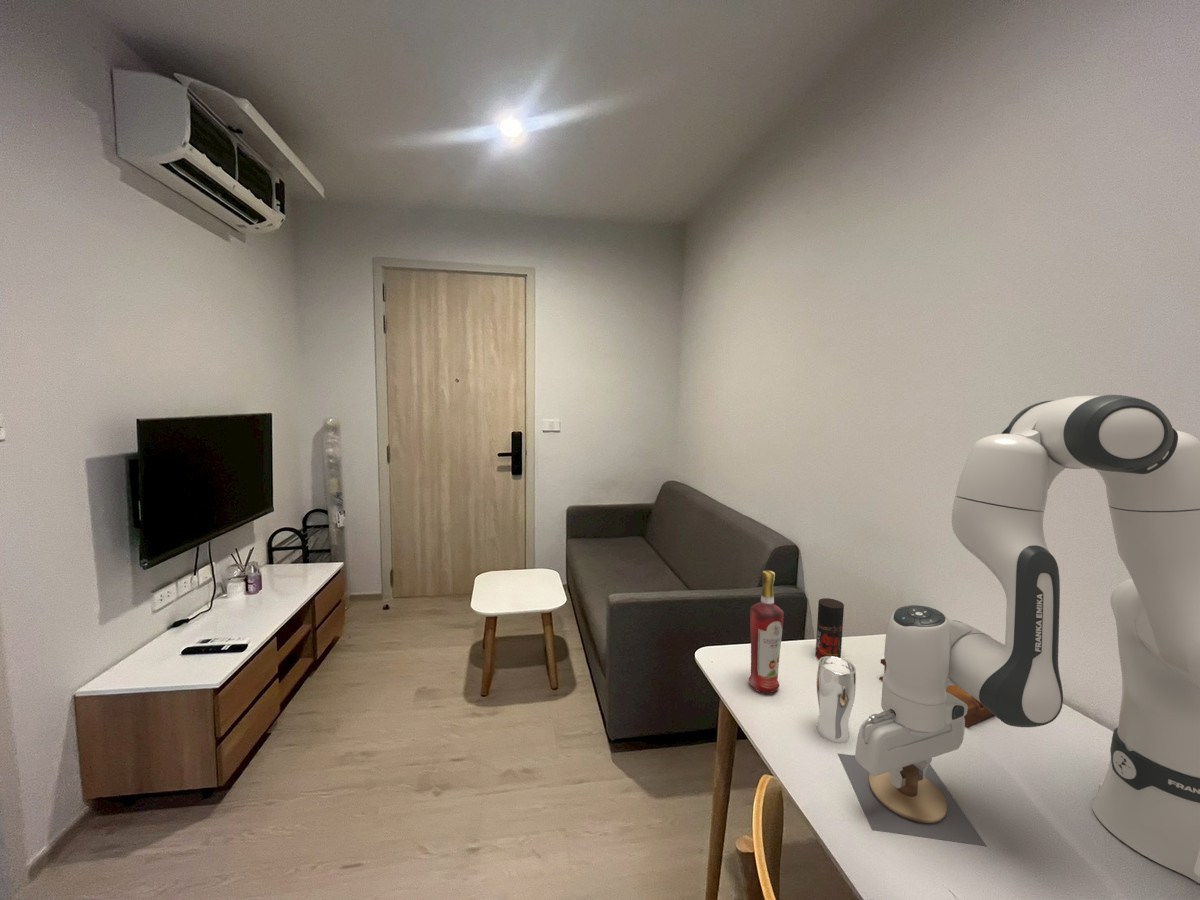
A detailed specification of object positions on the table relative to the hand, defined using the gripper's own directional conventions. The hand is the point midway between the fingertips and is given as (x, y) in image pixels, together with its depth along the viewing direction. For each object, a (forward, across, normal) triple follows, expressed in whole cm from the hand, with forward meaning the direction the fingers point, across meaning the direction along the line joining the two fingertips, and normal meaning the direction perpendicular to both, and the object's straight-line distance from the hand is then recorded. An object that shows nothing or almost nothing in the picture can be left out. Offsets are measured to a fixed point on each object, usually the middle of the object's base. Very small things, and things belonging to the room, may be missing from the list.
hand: (907, 781), depth 79 cm
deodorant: (+3, +21, +39) cm, 44 cm away
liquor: (+3, -3, +34) cm, 34 cm away
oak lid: (+2, 0, 0) cm, 2 cm away
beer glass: (+4, 0, +16) cm, 16 cm away
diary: (+4, +38, +19) cm, 43 cm away
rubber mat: (+3, 0, 0) cm, 3 cm away
